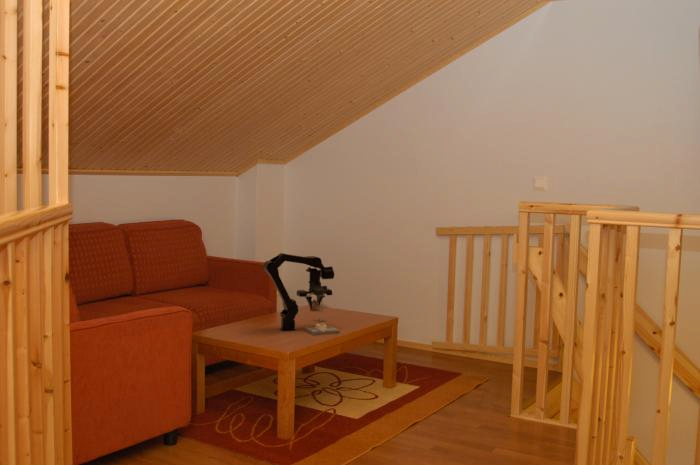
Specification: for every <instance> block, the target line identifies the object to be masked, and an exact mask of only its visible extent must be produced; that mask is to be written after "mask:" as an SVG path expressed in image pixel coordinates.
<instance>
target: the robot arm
mask: <svg viewBox="0 0 700 465" xmlns="http://www.w3.org/2000/svg"><path fill="white" fill-rule="evenodd" d="M285 262H290V263H295V264H302V265H307V266H308V267H307V268H306V269H305V272H308V273H309V276H308V277H309V281H308V284H309V285H308V286H309V288H308V290H305V289H297V291H296V296H298V297H299V298H300V297H302V298H305V299H306V301H307V304H308V307H309V310H310V309H312V301H313V300H312V298H313V296H312V295H314V296H316V301H318V302H319V305H320V303H321V300H322V299H323V300H324V298H326V296H333V290H332V289H329V288H328V287H327V285H322V282H321V280H334V278H335V270H334V269H333V268H334V267H333V266H324V264H323V262H322V259H321V257H318V256H315V255H308V256H307V255H306V256H301V255H295V254H287V253H284V252H280V253H278V255H276V256H274V257H272V258H271V259H270V260H265V262H264V263H263V265H262V268H263V270H264V272H265V273H266V274H267V275H268V276H269V277H270V279H271V282H273V284H274V286H275V287H274V288H275V289H276V291H277V292H278V294H279V297H280V298H281V300H282V307H283V309H282V310H281V312H280V313H279V315H280V317H281V318H280V327H279V329H280V330H281V331H283V332H284V331H295V330H296V329H295V327H296V321H295V318H296V316H297V315H298V313H299V306H298V303H297V301H296V299H294V298H291V297H290V295H289V292H287V291H288V290H287V289H286V287H285V285H284V283H283V281H282V279H281V277H280V272H279V268H280V267H281V266H282V265H283V264H284V263H285ZM309 266H310V267H309ZM325 294H326V295H325Z"/></svg>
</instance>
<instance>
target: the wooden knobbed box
mask: <svg viewBox="0 0 700 465" xmlns="http://www.w3.org/2000/svg"><path fill="white" fill-rule="evenodd" d="M311 301H312V309H310V308H309V311H310V312H313V313H314V312H318V311H319V302H318V301H317V300H316V299H313V300H311ZM319 312H320V311H319Z"/></svg>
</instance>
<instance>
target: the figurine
mask: <svg viewBox="0 0 700 465" xmlns="http://www.w3.org/2000/svg"><path fill="white" fill-rule="evenodd" d="M324 309H329V310H330V306H329V305H328V304H327V303H326V302H325V300H324V298H323V299H322V300H321V303H320V305H319V311H317V316H318V317H317V320H316V322H317V321H319V322H321V321H322V322H324V321H325V319H323V316H322V315H319V312H320V313H323V312H324Z"/></svg>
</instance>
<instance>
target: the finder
mask: <svg viewBox="0 0 700 465" xmlns="http://www.w3.org/2000/svg"><path fill="white" fill-rule="evenodd" d="M327 326H328V325H326V324H325V323H321V322H320V323H316V324H315V327H316V329H317V330H319V331H323V330H327Z"/></svg>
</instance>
